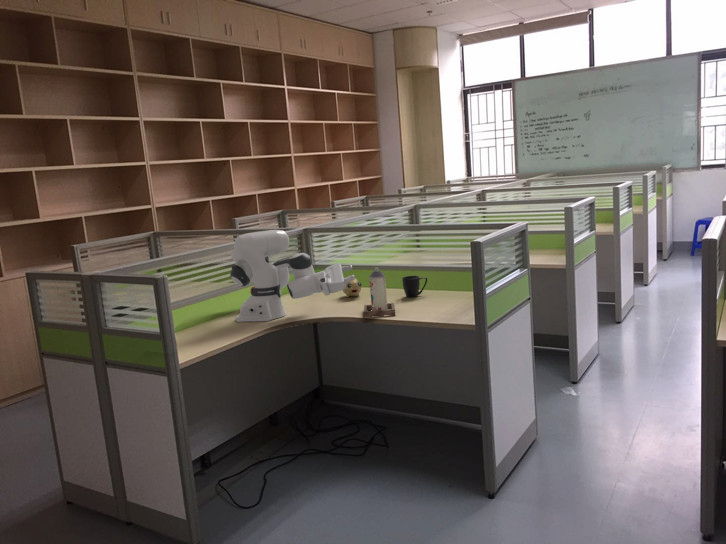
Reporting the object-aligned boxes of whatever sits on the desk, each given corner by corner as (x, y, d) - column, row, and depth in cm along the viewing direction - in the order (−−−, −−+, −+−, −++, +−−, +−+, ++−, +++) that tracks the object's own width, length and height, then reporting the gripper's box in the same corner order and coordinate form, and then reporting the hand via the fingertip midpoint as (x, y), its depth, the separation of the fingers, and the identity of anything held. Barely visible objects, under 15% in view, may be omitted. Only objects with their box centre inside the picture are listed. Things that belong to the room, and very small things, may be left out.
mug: (429, 296, 294) (428, 277, 293) (404, 299, 294) (403, 279, 292) (426, 293, 302) (425, 274, 301) (402, 295, 302) (401, 276, 300)
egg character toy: (346, 300, 302) (344, 278, 300) (340, 295, 313) (338, 275, 311) (365, 297, 304) (363, 276, 303) (359, 293, 316) (357, 272, 314)
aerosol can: (372, 311, 274) (368, 267, 270) (387, 310, 273) (384, 266, 270) (372, 315, 267) (368, 269, 264) (387, 314, 267) (384, 268, 263)
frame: (364, 317, 264) (363, 311, 263) (364, 310, 277) (364, 305, 276) (395, 315, 263) (395, 309, 263) (394, 308, 276) (393, 302, 276)
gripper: (324, 276, 282) (352, 268, 282) (326, 297, 264) (357, 288, 263) (320, 265, 279) (349, 256, 279) (322, 285, 261) (353, 275, 260)
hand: (353, 272), depth 271 cm, fingers open, 8 cm apart
